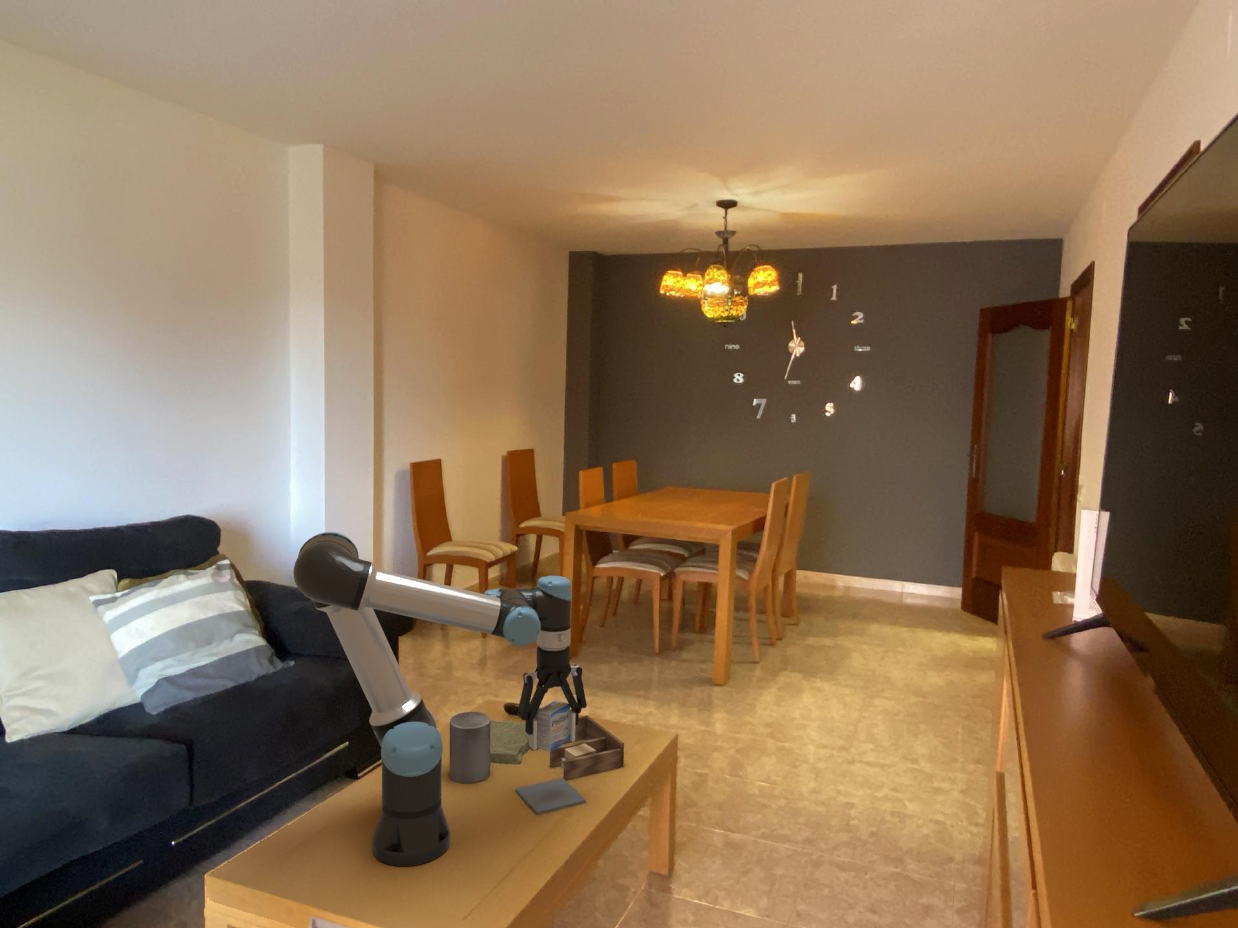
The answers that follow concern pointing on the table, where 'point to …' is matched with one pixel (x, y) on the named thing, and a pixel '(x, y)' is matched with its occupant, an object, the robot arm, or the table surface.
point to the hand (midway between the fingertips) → (552, 742)
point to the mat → (550, 796)
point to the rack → (603, 760)
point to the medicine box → (553, 725)
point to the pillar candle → (469, 747)
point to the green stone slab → (508, 742)
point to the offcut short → (578, 751)
